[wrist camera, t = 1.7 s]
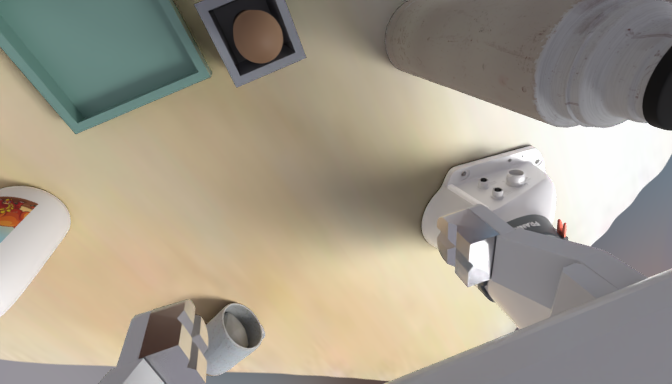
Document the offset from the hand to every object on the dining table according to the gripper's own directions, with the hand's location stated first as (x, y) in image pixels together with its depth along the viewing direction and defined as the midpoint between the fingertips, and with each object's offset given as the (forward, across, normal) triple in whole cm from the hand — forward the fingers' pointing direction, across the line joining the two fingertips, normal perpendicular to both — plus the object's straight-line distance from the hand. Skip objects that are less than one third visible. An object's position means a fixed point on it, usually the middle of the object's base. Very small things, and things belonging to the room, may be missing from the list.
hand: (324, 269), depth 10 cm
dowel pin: (+30, -1, -6) cm, 30 cm away
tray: (+31, +12, -7) cm, 34 cm away
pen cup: (+30, -1, -6) cm, 31 cm away
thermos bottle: (+31, -19, -1) cm, 36 cm away
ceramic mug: (+31, +14, +34) cm, 48 cm away
